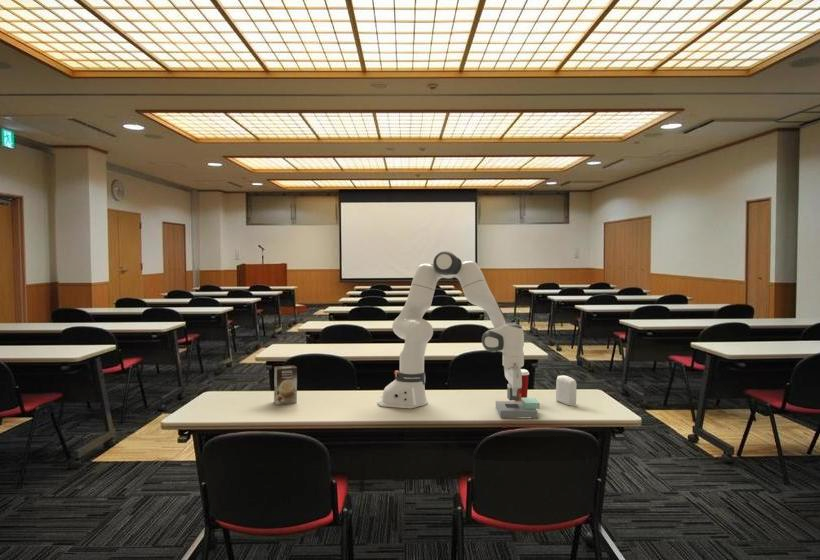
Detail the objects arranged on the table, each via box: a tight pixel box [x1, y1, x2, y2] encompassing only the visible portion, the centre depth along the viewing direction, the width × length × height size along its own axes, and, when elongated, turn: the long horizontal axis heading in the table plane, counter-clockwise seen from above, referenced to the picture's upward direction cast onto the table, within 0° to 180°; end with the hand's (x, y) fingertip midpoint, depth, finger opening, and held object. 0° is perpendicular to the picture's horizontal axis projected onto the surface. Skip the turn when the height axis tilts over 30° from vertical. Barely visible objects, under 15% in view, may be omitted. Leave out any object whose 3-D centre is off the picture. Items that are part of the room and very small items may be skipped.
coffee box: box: [273, 365, 298, 406], centre depth 225 cm, size 9×6×16 cm
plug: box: [506, 383, 519, 401], centre depth 211 cm, size 4×4×6 cm
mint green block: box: [521, 397, 540, 410], centre depth 210 cm, size 6×8×2 cm
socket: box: [495, 400, 538, 419], centre depth 211 cm, size 15×14×3 cm
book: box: [555, 375, 578, 407], centre depth 226 cm, size 10×4×12 cm, turn 25°
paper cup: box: [514, 368, 530, 401], centre depth 229 cm, size 8×8×14 cm
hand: (512, 393), depth 211 cm, fingers closed on plug, 4 cm apart
